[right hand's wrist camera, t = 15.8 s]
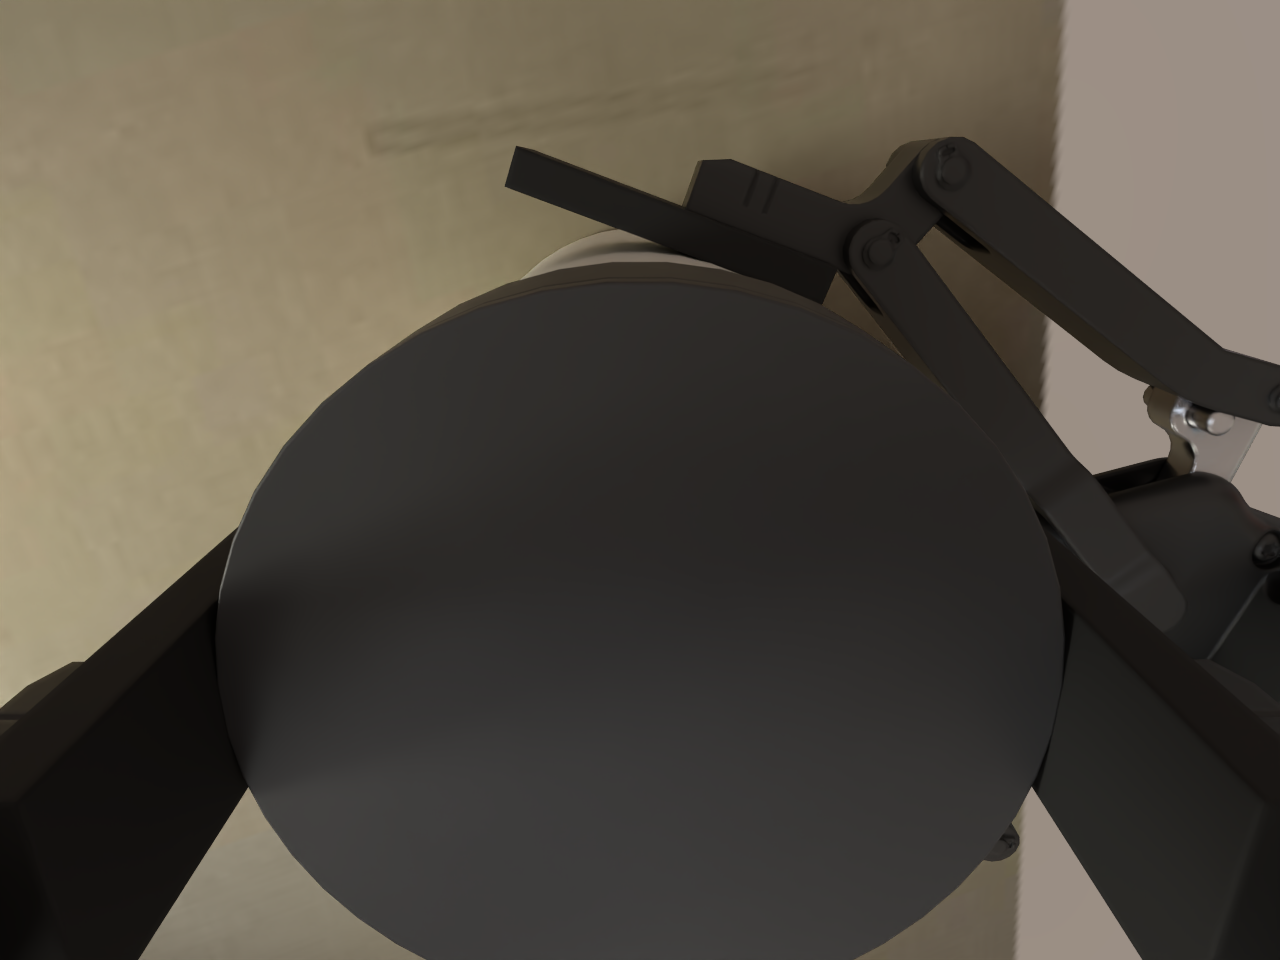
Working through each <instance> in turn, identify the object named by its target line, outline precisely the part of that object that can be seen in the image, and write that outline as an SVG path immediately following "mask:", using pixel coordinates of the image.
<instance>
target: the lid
mask: <svg viewBox="0 0 1280 960" xmlns="http://www.w3.org/2000/svg"><path fill="white" fill-rule="evenodd" d="M1064 653H1065V630H1064V621H1063V611H1062V601H1061V592H1060V585H1059V582H1058V578H1057V574H1056V571H1055V567H1054V563H1053V559H1052V556H1051V552H1050V548H1049V544H1048V541H1047V538H1046V535H1045V533H1044V531H1043V529H1042V526H1041V524H1040V522H1039V520H1038V517H1037V515H1036V513H1035V511H1034V508H1033V506H1032V504H1031V502H1030V499H1029V497H1028V495H1027V493H1026V491H1025V489H1024V488H1023V486H1022V484H1021V483H1020V481H1019V480H1018V478H1017V477H1016V475H1015V474H1014V472H1013V471H1012V469H1011V468H1010V466H1009V464H1008V463H1007V461H1006V460H1005V458H1004V457H1003V455H1002V454H1001V452H1000V451H999V449H998V448H997V446H996V445H995V443H994V442H993V441H992V440H991V439H990V438H989V437H988V436H987V435H986V433H985V432H984V431H983V430H982V429H981V428H980V427H979V426H978V424H977V423H976V422H975V421H974V420H973V419H972V418H971V417H970V415H969V414H968V413H967V412H966V411H965V410H964V409H963V408H962V407H961V405H960V404H959V403H958V402H957V401H955V400H954V399H953V398H952V397H951V396H949V395H948V394H947V393H946V392H945V391H943V390H942V389H941V388H940V387H939V386H937V385H936V384H935V383H934V382H933V381H931V380H930V379H929V378H928V377H927V376H925V375H924V374H923V373H922V372H920V371H919V370H918V369H917V368H916V367H914V366H913V365H912V364H911V363H909V362H908V361H906V360H905V359H903V358H902V357H901V356H899V355H898V354H896V353H895V352H893V351H892V350H891V349H889V348H888V347H886V346H885V345H883V344H882V343H881V342H879V341H878V340H876V339H875V338H873V337H872V336H871V335H869V334H868V333H866V332H865V331H863V330H862V329H860V328H858V327H857V326H855V325H853V324H852V323H850V322H849V321H847V320H845V319H844V318H842V317H840V316H839V315H837V314H835V313H834V312H832V311H830V310H829V309H827V308H826V307H824V306H822V305H821V304H819V303H816V302H814V301H812V300H809V299H807V298H805V297H802V296H800V295H798V294H795V293H793V292H791V291H788V290H786V289H784V288H782V287H779V286H777V285H775V284H772V283H769V282H765V281H762V280H758V279H754V278H751V277H747V276H744V275H740V274H736V273H733V272H729V271H725V270H722V269H716V268H709V267H701V266H694V265H686V264H679V263H672V262H608V263H601V264H594V265H586V266H579V267H572V268H564V269H558V270H554V271H551V272H547V273H544V274H540V275H536V276H533V277H529V278H526V279H522V280H518V281H515V282H511V283H508V284H505V285H503V286H501V287H498V288H496V289H494V290H492V291H489V292H487V293H485V294H482V295H480V296H478V297H475V298H473V299H471V300H468V301H466V302H464V303H462V304H459V305H458V306H456V307H454V308H453V309H451V310H449V311H448V312H446V313H445V314H443V315H441V316H440V317H438V318H436V319H435V320H433V321H431V322H430V323H428V324H427V325H425V326H423V327H422V328H420V329H418V330H417V331H415V332H414V333H412V334H411V335H410V336H408V337H407V338H405V339H404V340H402V341H401V342H400V343H398V344H397V345H395V346H394V347H392V348H391V349H390V350H388V351H387V352H385V353H384V354H382V355H381V356H380V357H378V358H377V359H375V360H374V361H372V362H371V363H370V364H368V365H367V366H366V367H364V368H363V369H362V370H361V371H360V372H358V373H357V374H356V375H355V376H354V377H352V378H351V379H350V380H349V381H348V382H346V383H345V384H344V385H343V386H342V387H340V388H339V389H338V390H337V391H336V392H334V393H333V394H332V395H331V396H329V397H328V398H327V399H326V400H325V401H323V402H322V403H321V404H320V405H319V407H318V408H317V409H316V410H315V411H314V412H313V413H312V414H311V416H310V417H309V418H308V419H307V420H306V421H305V422H304V423H303V425H302V426H301V427H300V428H299V429H298V430H297V431H296V432H295V433H294V435H293V436H292V437H291V438H290V439H289V440H288V441H287V442H286V444H285V445H284V446H283V448H282V449H281V451H280V452H279V454H278V455H277V457H276V458H275V460H274V461H273V463H272V465H271V466H270V468H269V469H268V471H267V472H266V474H265V475H264V477H263V478H262V480H261V481H260V483H259V485H258V486H257V488H256V489H255V491H254V493H253V495H252V497H251V500H250V502H249V504H248V506H247V509H246V511H245V513H244V515H243V518H242V520H241V522H240V524H239V527H238V529H237V531H236V533H235V536H234V538H233V540H232V544H231V548H230V552H229V556H228V559H227V563H226V567H225V571H224V574H223V578H222V582H221V586H220V591H219V601H218V611H217V621H216V630H215V654H216V672H217V685H218V690H219V695H220V700H221V704H222V709H223V714H224V719H225V724H226V728H227V733H228V737H229V740H230V742H231V745H232V748H233V751H234V753H235V756H236V759H237V761H238V764H239V767H240V770H241V772H242V775H243V777H244V779H245V781H246V783H247V785H248V787H249V789H250V790H251V792H252V794H253V796H254V798H255V800H256V802H257V804H258V805H259V807H260V809H261V811H262V813H263V815H264V817H265V818H266V820H267V821H268V822H269V824H270V825H271V826H272V828H273V829H274V831H275V832H276V833H277V835H278V836H279V838H280V839H281V840H282V842H283V843H284V845H285V846H286V847H287V849H288V850H289V852H290V853H291V854H292V855H293V856H294V858H295V859H296V860H297V861H298V862H299V863H300V864H301V865H302V866H303V867H304V868H305V869H306V870H307V872H308V873H309V874H310V875H311V876H312V877H313V878H314V879H315V880H316V881H317V882H318V883H319V884H320V886H321V887H322V888H323V889H324V890H326V891H327V892H328V893H329V894H330V895H332V896H333V897H334V898H335V899H336V900H337V901H339V902H340V903H341V904H342V905H343V906H344V907H346V908H347V909H348V910H349V911H350V912H352V913H353V914H354V915H355V916H356V917H357V918H359V919H360V920H362V921H363V922H365V923H366V924H368V925H369V926H371V927H372V928H374V929H375V930H377V931H378V932H380V933H381V934H382V935H384V936H385V937H387V938H388V939H390V940H391V941H393V942H394V943H396V944H398V945H400V946H401V947H403V948H405V949H407V950H409V951H411V952H413V953H415V954H417V955H418V956H420V957H422V958H424V959H426V960H854V959H856V958H858V957H859V956H861V955H863V954H865V953H867V952H869V951H871V950H873V949H875V948H876V947H878V946H880V945H882V944H884V943H886V942H887V941H888V940H890V939H891V938H893V937H894V936H896V935H897V934H899V933H900V932H902V931H903V930H905V929H906V928H908V927H909V926H911V925H912V924H914V923H915V922H917V921H918V920H920V919H921V918H923V917H924V916H925V915H926V914H927V913H928V912H930V911H931V910H932V909H933V908H934V907H935V906H937V905H938V904H939V903H940V902H941V901H942V900H944V899H945V898H946V897H947V896H948V895H949V894H951V893H952V892H953V891H954V890H955V889H957V888H958V887H959V885H960V884H961V883H962V882H963V881H964V880H965V879H966V878H967V877H968V876H969V875H970V874H971V873H972V871H973V870H974V869H975V868H976V867H977V866H978V865H979V864H980V863H981V862H982V861H983V860H984V858H985V857H986V856H987V855H988V854H989V853H990V851H991V850H992V849H993V847H994V846H995V844H996V843H997V842H998V840H999V839H1000V837H1001V836H1002V835H1003V833H1004V832H1005V830H1006V829H1007V828H1008V826H1009V825H1010V823H1011V822H1012V821H1013V819H1014V818H1015V816H1016V815H1017V813H1018V811H1019V809H1020V807H1021V805H1022V803H1023V801H1024V800H1025V798H1026V796H1027V794H1028V792H1029V790H1030V788H1031V786H1032V785H1033V783H1034V781H1035V779H1036V777H1037V775H1038V772H1039V770H1040V767H1041V764H1042V761H1043V759H1044V756H1045V753H1046V750H1047V748H1048V745H1049V742H1050V739H1051V737H1052V734H1053V730H1054V725H1055V720H1056V715H1057V710H1058V706H1059V701H1060V696H1061V691H1062V686H1063V672H1064Z"/></svg>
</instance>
